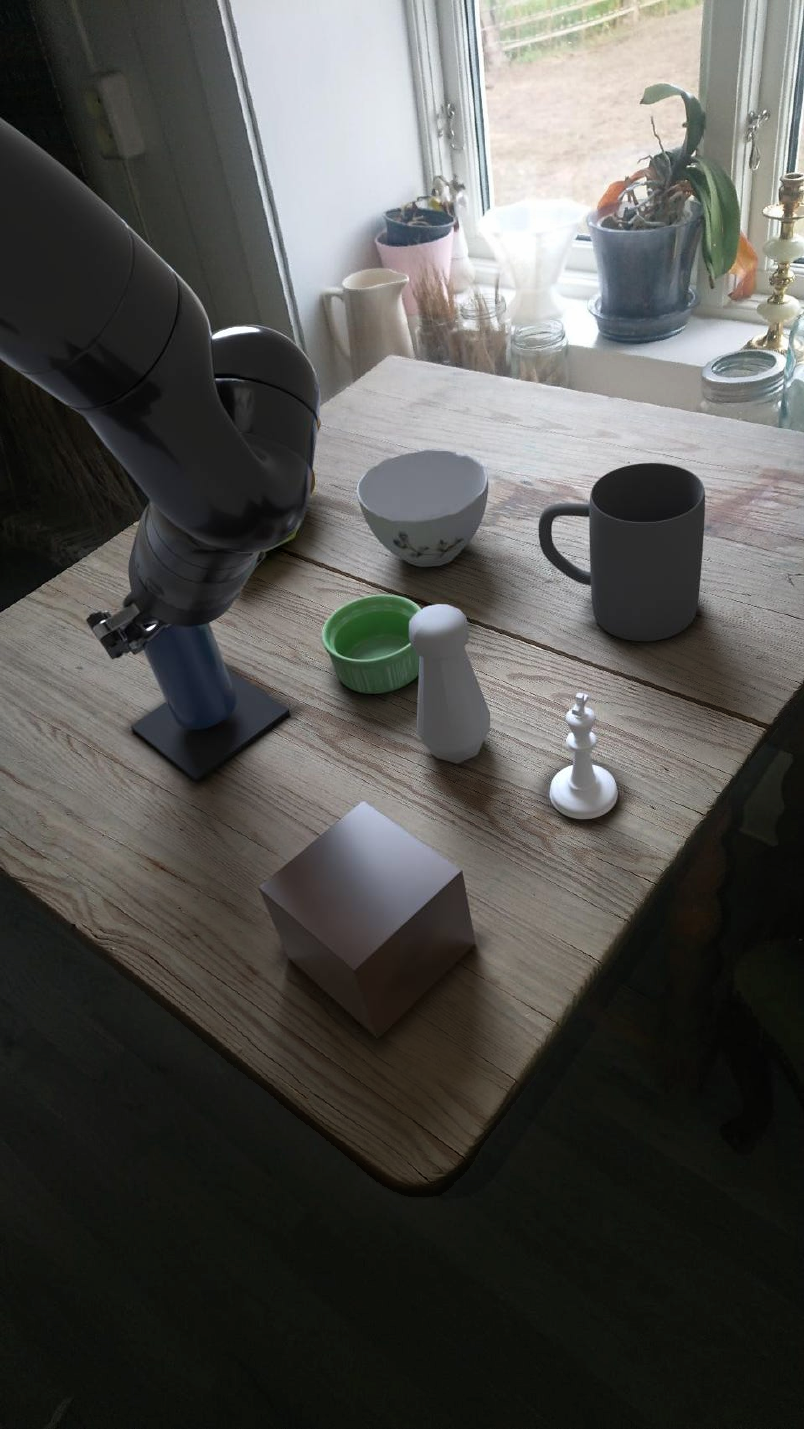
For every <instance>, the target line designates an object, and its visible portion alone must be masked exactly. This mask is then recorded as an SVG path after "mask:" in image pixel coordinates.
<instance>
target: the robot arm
mask: <svg viewBox="0 0 804 1429" xmlns="http://www.w3.org/2000/svg"><path fill="white" fill-rule="evenodd" d="M0 360H1V361H2V362H4V363H5V364H7V365H8V366H9V367H11V368H12V369H14V370H15V371H17V372H18V373H20V374H21V375H22V376H24V377H25V378H27V379H28V380H29V381H31V382H32V383H34V384H35V385H37V386H38V387H40V388H41V389H42V390H44V391H45V392H47V393H48V394H50V395H51V396H52V397H54V398H55V399H57V400H58V401H60V402H61V403H63V404H64V405H66V406H67V407H68V408H70V409H71V410H73V411H74V412H76V413H78V414H79V415H80V416H82V417H83V418H84V419H85V420H86V422H87V423H88V424H89V426H90V427H91V429H93V431H94V432H95V434H96V435H97V437H98V438H99V439H100V440H101V442H102V444H103V445H104V446H105V447H106V448H107V450H108V451H109V452H110V453H111V454H112V456H113V457H114V458H115V459H116V460H117V461H118V463H119V464H120V465H121V466H122V467H123V468H124V471H125V472H126V473H127V474H128V475H129V476H130V478H131V479H132V480H133V481H134V483H135V484H136V485H137V486H138V487H139V489H140V490H141V491H142V492H143V494H144V495H145V497H147V499H148V500H149V502H148V504H147V505H146V506H145V508H144V510H143V512H142V514H141V516H140V518H139V521H138V522H139V523H138V525H137V529H136V533H135V537H134V540H133V544H132V548H131V552H130V556H129V560H128V569H127V571H128V572H127V573H128V582H129V587H130V592H129V593H128V594H127V595H126V596H125V598H124V599H123V601H122V602H121V607H122V609H121V610H119V611H117V612H115V613H114V614H111V613H110V611H109V610H105V611H102V610H98V611H94V612H91V613H90V614H89V616H88V617H87V618H86V619H85V621H86V623H87V625H88V626H89V628H90V630H91V632H92V633H93V635H94V636H95V638H97V640H98V641H99V643H100V644H101V646H102V647H103V648H104V650H105V651H106V653H107V656H109V658H110V659H111V660H112V661H113V660H115V659H120V658H122V657H123V656H124V654H126V655H128V654H129V653H132V655H133V656H136V655H138V654H139V653H141V652H143V648H144V646H145V643H146V641H150V640H152V639H154V638H156V637H158V636H160V635H162V634H163V633H164V632H165V631H166V630H167V629H168V628H169V627H170V626H171V625H176V626H183V627H193V626H200V625H204V624H207V623H210V624H211V623H212V622H213V621H215V620H217V619H219V618H220V617H222V616H223V615H224V614H226V612H228V610H229V609H230V608H231V607H232V605H233V604H234V602H235V600H236V599H237V597H238V596H239V594H240V593H241V591H242V590H243V588H244V586H245V585H246V583H247V581H248V580H249V579H250V577H251V576H252V573H253V572H254V571H255V569H256V568H257V567H258V566H259V565H260V564H261V562H262V561H264V559H265V558H266V557H267V553H266V552H264V551H265V550H268V551H270V550H272V549H274V547H275V548H276V546H277V547H279V546H280V544H281V545H283V544H285V543H286V542H285V541H287V540H288V539H289V538H290V537H291V536H292V535H293V534H294V533H295V532H296V533H297V531H298V530H299V528H300V527H301V525H302V523H303V521H304V519H305V517H306V515H307V514H306V513H307V510H308V508H309V503H310V497H311V495H310V489H311V481H312V470H314V460H315V453H316V446H317V439H318V433H317V431H318V423H319V418H320V415H321V414H320V412H321V387H320V381H319V378H318V375H317V373H316V369H315V367H314V366H313V364H312V362H311V360H310V359H309V357H308V356H307V355H306V353H305V352H304V351H303V349H301V348H300V346H298V344H296V343H295V342H294V341H293V340H292V339H291V338H289V337H288V336H286V335H284V334H283V333H281V332H279V331H278V330H274V329H273V328H269V327H267V326H263V325H257V324H247V323H246V324H244V323H243V324H233V325H228V326H225V327H221V328H219V329H215V330H214V331H212V329H211V324H210V320H209V317H208V314H207V311H206V310H205V307H204V305H203V303H202V301H201V300H200V298H199V297H198V296H197V294H196V293H195V292H194V291H193V289H192V288H191V287H190V286H189V285H188V283H187V282H186V281H185V280H184V279H183V278H182V277H181V276H180V274H178V273H177V272H176V271H175V269H173V268H172V267H171V266H170V265H169V264H168V263H167V262H166V260H164V259H163V258H162V257H161V256H160V255H159V253H157V252H156V251H155V249H154V248H152V247H151V246H150V245H149V244H148V243H147V242H146V241H145V239H143V238H142V237H141V236H140V235H139V233H137V232H136V231H135V230H134V229H133V228H132V227H131V226H130V225H129V224H128V223H127V222H126V221H125V220H124V219H122V217H121V216H120V215H119V214H118V213H117V212H115V210H113V209H112V208H111V206H109V205H108V204H107V203H106V202H105V201H104V200H103V199H102V198H100V197H99V196H98V195H97V194H96V193H95V192H94V191H93V190H91V188H90V187H88V186H87V185H86V184H85V183H84V182H83V181H82V180H81V179H80V178H78V177H77V176H76V175H75V174H74V173H72V171H71V170H70V169H68V168H67V167H66V166H65V165H63V164H62V163H61V162H59V161H58V160H57V159H55V157H53V156H52V155H51V154H49V153H48V152H47V151H46V150H44V149H43V148H42V147H41V146H39V145H38V144H37V143H36V142H34V141H33V140H32V139H30V138H29V137H27V136H26V135H24V134H23V133H22V132H21V131H19V130H18V129H16V128H15V127H14V126H13V125H11V124H10V123H8V122H7V121H6V120H4V119H3V118H2V117H0ZM318 432H319V431H318ZM284 542H285V543H284ZM287 542H288V541H287ZM282 543H283V544H282ZM278 545H279V546H278ZM269 549H270V550H269ZM157 622H158V623H157Z"/></svg>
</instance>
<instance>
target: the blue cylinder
mask: <svg viewBox="0 0 804 1429" xmlns="http://www.w3.org/2000/svg"><path fill="white" fill-rule="evenodd" d="M157 623H158V622H157ZM142 652H143V653H144V656H145V657H146V660H147V662H148V664H149V667H150V669H151V672H152V673H153V675H154V678H155V680H156V682H157V685H158V687H159V689H160V691H161V694H162V696H163V698H164V700H165V702H166V703H167V705H168V707H169V709H170V712H171V714H172V716H173V718H174V720H175V722H176V723H177V724H178V725H180V726H181V727H184V728H187V729H204V728H208V727H211V726H214V725H216V724H218V723H220V722H222V721H223V720H225V719H226V718H227V717H228V716H229V715H230V714H231V713H232V712H233V710H234V708H235V706H236V703H237V696H236V693H235V690H234V687H233V685H232V682H231V679H230V677H229V674H228V671H227V669H228V668H227V666H226V663H225V661H224V658H223V656H222V653H221V650H220V647H219V645H218V641H217V639H216V636H215V633H214V631H213V629H212V625H211V622H210V623H207V624H204V625H200V626H193V627H183V626H176V625H171V626H170V627H169V628H168V629H167V630H166V631H165V632H164V633H163V634H162V635H160V636H158V637H156V638H154V639H152V640H150V641H146V643H145V646H144V648H143V650H142ZM226 668H227V669H226Z"/></svg>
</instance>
